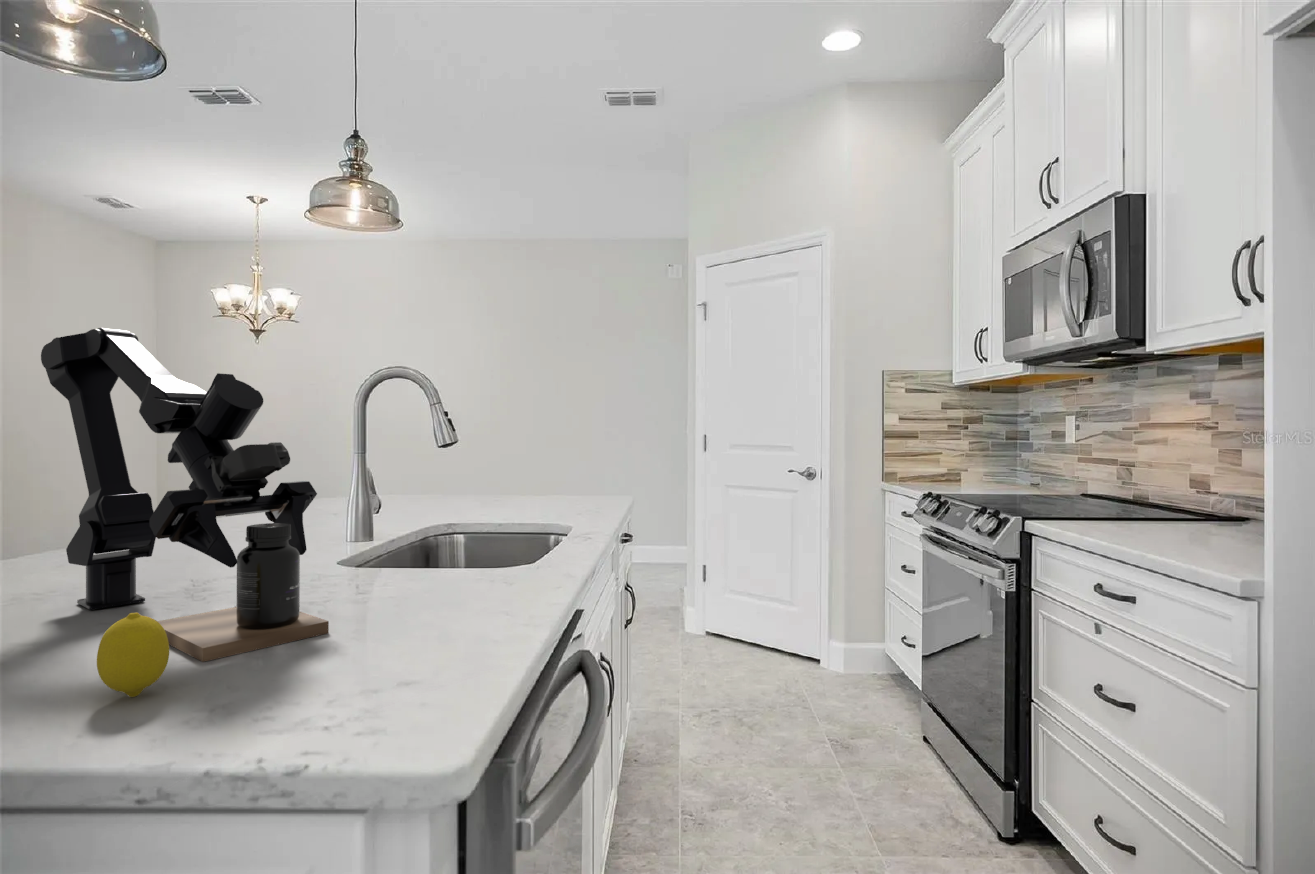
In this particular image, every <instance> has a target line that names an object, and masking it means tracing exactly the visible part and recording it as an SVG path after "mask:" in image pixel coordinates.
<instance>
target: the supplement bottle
mask: <svg viewBox="0 0 1315 874" xmlns="http://www.w3.org/2000/svg"><path fill="white" fill-rule="evenodd" d="M245 535H246V536H245V540H244V541H245V542H247V543H248V544H247V546H246V547H244V548H243V549H241V550H240V552H238V554H237V556H236V559H237V564H236V607H237V609H236V613H237V624H238V625H239V626H240V627H242V628H245V629H267V628H275V627H281V626H285V625H289V624H291V623H294V622H295V621H296V620H297V619H298V618H299V611H300V608H301V607H300V606H301V605H300V602H301V601H300V599H301V598H300V593H301V588H300V587H301V585H300V584H301V582H300V580H301V577H300V576H301V574H300V573H301V571H300V570H301V567H300V566H301V564H300V563H301V555H300V553H299V551H298V549H297V548H296V547H295V546H293V545H291V544H289V540H290V539H291V524H286V523H274V522H273V523H272V522H270V523H257V524H251V525H247V526H246V533H245Z"/></svg>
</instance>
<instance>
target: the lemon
mask: <svg viewBox="0 0 1315 874" xmlns="http://www.w3.org/2000/svg"><path fill="white" fill-rule="evenodd" d="M157 621H158V620H155V619H154V618H151V617H150V616H147V615H142V614H140V613H139V612H130V613H128V615H127V616H125V617H122V618H121V619H119V620H118V621H115V623H113V624H111V625H110V626H109V627H108V628H107V629H106V631H104V633H103V635H102V637H101V639H100V641H99V645H98V648H97V653H96V668H97V672H98V676H99V678H100V679H101V681H102V682H103V683H104V685H106V686H107V688H110V689H111V690H113V691H115V692H120V693H124V694H125V695H126V696H128V697H130V698H135V697H137V696H138V697H139V695H140V694H141V693H142V692H143V691H144V690H145V689H147V688H148V687H150V686H152V685H154V684H155V683H156V682H157V681H158V680H159V679H160V678H161V676H162V675H163V674H164V672H165V670H166V668H167V665H168V662H169V658H170V645H169V642H168V638H167V635H166V632H165V630H164V628H163V627H162V626H161V624H160V623H159V622H157Z"/></svg>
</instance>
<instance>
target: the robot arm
mask: <svg viewBox="0 0 1315 874" xmlns="http://www.w3.org/2000/svg"><path fill="white" fill-rule="evenodd" d="M40 353H41V354H40V361H41V364H42V366H43V368H44V369H45V371H46V375H47V378H48V380H49V383H50V385H51V386H52V387H53V388H55V390H56V391H58V393H59V394H61V395H62V396H63V397H64V398H65V399H66V400H67V401H68V403H69V404H68V405H69V408H70V413H71V418H72V422H73V426H74V431H75V435H76V441H77V445H78V450H79V455H80V459H81V464H82V468H83V472H84V473H83V474H84V477H85V483H86V486H87V487H86V488H87V492H88V496H87V499H86V501H85V502H84V504H83V507H82V509H81V511H80V512H79V514H78V519H79V520H78V521H79V527H78V529H77V530H76V532H74V535H73V537H72V538H71V540H70V542H69V544H68V545H67V547H66V548H65V552H66V555H67V556H66V557H67V561H68V563H69V564H71V565H76V566H83V567H85V598H80V599H77V601H76V604H78V605H80V606H82V607H84V608H86V609H88V610H89V611H90V610H92V611H93V610H100V609H106V608H111V607H113V608H114V607H116V606H117V607H118V606H124V605H131V604H137V603H143V602H145V601H146V598H145V597H144V596H142V595H140V594H137V559H139V558H148V557H149V558H151V557H152V556H153V552H154V547H155V543H156V540H157V539H158V540H161V539H169V541H170V542H171V543H176V542H177V543H180V544H183V545H185V546H187V547H189V548H191V549H193V550H196V551H198V552H200V553H203V554H204V555H207V556H208V557H209V558H211V559H214V560H216V561H217V562H219V563H221V564H223V565H225V566H227V567H229V568H230V569H231V568H235V567H236V566H237V556H236V555H235V553H234V552H235V551H234V550H233V548H232V546H231V545H230V543H229V541H228V539H227V538H226V536H225V534H224V533H223V530H222V529H221V528H220V526H219V523H218V521H217V517H232V516H233V517H234V516H242V515H252V514H259V513H264V514H265V516H266V518H267V519H268V521H270V522H271V523H272V522H273V523H286V524H291V539H290V540H289V544H291V545H293V546H295V547H296V548H297V549H298V551H299V553H300V556H303V555H304V554H305V553H306V552H307V543H306V536H305V527H304V516H303V515H304V512H305V511H306V510H307V509H308V507H309V506H310V504H311V503H312V502H313V501H314V499H315V498H316V497H317V495H318V492H317V491H316V490H315V488H314V486H313V485H312V483H311V482H310V481H307V480H305V481H304V480H301V481H300V480H298V481H297V480H296V481H288V482H287V481H285V482H280V483H279V484H278V486H277V487H276V489H275V490H274V492H273V493H272V494H268V495H267V494H266V495H265V494H264V495H261V493H260V490H262V489H265V487H266V486H267V485H268V483H269V481H268V479H267V478H268V477H269V476H270V475H272V474H273V473H275V472H279V471H281V470H282V469H283V468H284V467H286V466H288V465H289V464H290V462H291V456H290V454H289V450H288V448H286V446H285V445H284V444H283V443H282V442H278V441H277V442H268V443H266V444H260V443H259V444H256V443H255V444H244V445H241V446H239V447H237V448H235V449H234V448H233V446H232V444H231V443H230V441H233V440H237V439H239V438H241V437H242V436H243V435H244V434H245V432H246V431H247V429H248V427H249V426H250V424H251V423H252V421H253V420H254V418H255V417H256V416H257V414H258V412H259V411H260V409H261V407H262V406H263V405H264V397H263V395H262V394H261V392H260V391H259V390H256V389H255V388H254V387H253V386H251V385H250V384H249V383H246V382H244V381H241V380H238V379H236V376H235V375H234V374H231V373H219V372H218V373H216V375H215V376H214V378H213V380H212V383H211V385H210V387H209V389H208V390H207V391H206V390H204V389H202V388H201V387H199V386H198V385H196V384H193V383H190V382H186V381H184V380H182V379H178V378H177V377H175V376H174V375H173V374H172V373H171V372H170V371H169V369H167V368H166V367H165V366H164V365H163V364H162V363H161V362H160V361H159V360H157V358H156V357H154V355H152V353H150V352H149V350H147V349H146V348H145V346H143V345H142V344H141V343H140V341H139V338H138V336H137V334H135V333H134V332H131V331H129V330H123V329H114V328H105V327H97V328H93V329H92V328H91V329H90V330H88V331H86V332H83V333H82V332H81V333H76V334H72V335H71V334H70V335H64V336H61V337H58V336H57V337H55V338H53V339H51V341H50V342H48V343H46V344H45V345H43V347H42V350H41V352H40ZM118 379H120V380H121V381H122V382H123V383H124V384H125V385H126V386H127V387H128V388H129V389H130V390H131V391H132V392H133V393H134V394H135V395H136V396H137V398H138V399H139V400H140V402H141V403H140V405H139V410H138V413H139V414H140V416H141V418H142V419H143V420H144V422H145V423H146V424H147V426H148V427H149V429H150V430H151V432H154V433H155V434H177V436H176V438H175V439H174V441H173V442H172V443H171V449H170V451H169V452H168V454H167V462H168V464H169V463H170V464H179V463H180V464H181V463H182V464H183V465H184V467H185V470H186V472H187V473H188V475H189V476H190V478H191V480H192V481H191V483H190V484H189V486H188V489H179V490H178V489H176V490H167V491H166V493H165V494H164V496H163V497H162V499H161V501H160V502H159V503H158V505H157V507H156V508H155V510H154V508H153V502H152V497H151V495H150V494H149V493H148V492H139V491H137V490H136V489H135V488H134V487H133V486H132V484H131V480H130V476H129V472H128V467H127V463H126V457H125V454H124V450H123V449H124V448H123V446H122V440H121V435H120V432H119V431H120V430H119V427H118V423H117V419H116V414H115V409H114V405H113V400H112V396H111V392H112V390H113V388H114V387H115V385H116V383H117V381H118Z"/></svg>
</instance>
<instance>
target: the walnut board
mask: <svg viewBox="0 0 1315 874" xmlns="http://www.w3.org/2000/svg"><path fill="white" fill-rule="evenodd" d="M236 609H237V606H234V607H229V608H223V609H219V610H212V611H211V610H210V611H207V612H201V613H196V614H190V615H189V614H188V615H184V616H179V617H173V618H168V619H162V620H156V621H157V622H159V623H160V624H161V626H162V627H163V628H164V630H165V632H166V635H167V638H168V642H169V646H171V647H173V648H175V649H177V650H178V651H181V652H183V653H185V654H186V655H188V656H190V657H192V658H194V659H196V660H198V661H200V662H202V663H204V662H205V663H206V662H209V661H214V660H218V659H220V658H221V659H222V658H225V657H231V656H234V655H240V654H245V653H248V652H252V651H256V650H261V649H265V648H270V647H274V646H278V645H282V644H286V643H287V644H288V643H291V642H297V641H299V640H300V641H301V640H304V639H309V638H313V637H317V636H318V637H319V636H321V635H322V636H323V635H326V634H327V635H328V634H329V629H330V628H329V627H330V625H329V620H326V619H325V618H324V619H323V618H321V617H318V616H314V615H312V614H309V613H306V612H303V611H300V610H299V618H298V619H297V620H296V621H295V622H294V623H291V624H289V625H285V626H281V627H275V628H267V629H245V628H242V627H240V626H239V625H238V624H237V613H236Z"/></svg>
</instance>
